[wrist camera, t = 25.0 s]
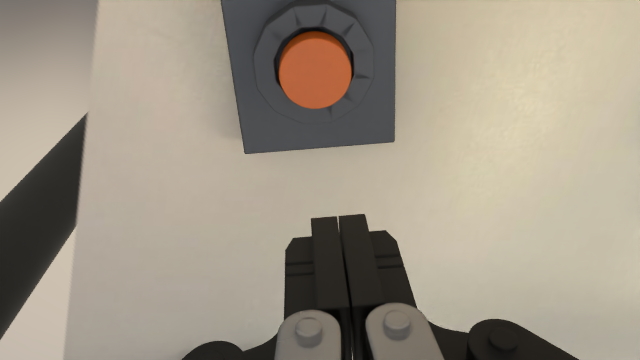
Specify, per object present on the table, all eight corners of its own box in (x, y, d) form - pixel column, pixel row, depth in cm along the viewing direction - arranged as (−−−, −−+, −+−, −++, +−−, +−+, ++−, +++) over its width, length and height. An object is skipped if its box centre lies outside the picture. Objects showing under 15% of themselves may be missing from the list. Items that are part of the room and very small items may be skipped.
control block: (389, 129, 35) (399, 154, 32) (247, 140, 35) (241, 167, 31) (389, -60, 29) (403, -54, 26) (219, -47, 29) (208, -40, 26)
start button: (349, 96, 30) (352, 106, 28) (283, 101, 30) (282, 112, 28) (347, 28, 28) (350, 35, 26) (276, 33, 28) (274, 41, 26)
